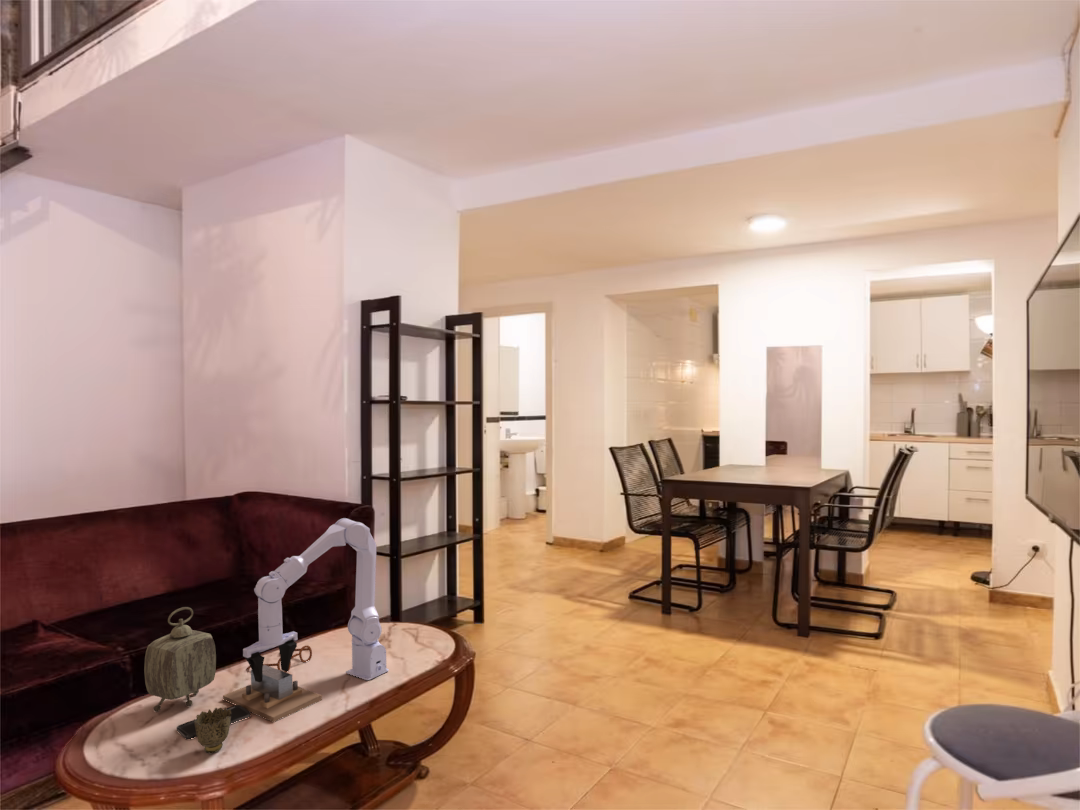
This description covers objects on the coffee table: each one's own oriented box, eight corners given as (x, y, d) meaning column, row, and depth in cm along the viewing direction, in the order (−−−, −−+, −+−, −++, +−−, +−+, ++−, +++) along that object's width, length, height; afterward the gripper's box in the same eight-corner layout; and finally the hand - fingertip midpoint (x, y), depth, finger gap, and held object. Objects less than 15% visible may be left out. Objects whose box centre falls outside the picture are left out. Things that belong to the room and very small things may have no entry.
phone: (174, 726, 158) (238, 704, 169) (175, 731, 158) (238, 708, 169) (187, 737, 153) (252, 713, 164) (187, 742, 153) (252, 718, 164)
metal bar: (292, 694, 171) (292, 674, 171) (278, 700, 168) (278, 680, 168) (265, 683, 178) (264, 664, 178) (251, 688, 175) (250, 670, 175)
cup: (203, 742, 152) (202, 707, 152) (236, 740, 153) (236, 706, 153) (189, 760, 145) (188, 723, 144) (224, 758, 145) (223, 721, 145)
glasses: (279, 677, 188) (279, 659, 188) (246, 670, 193) (245, 653, 193) (313, 660, 200) (312, 643, 200) (280, 653, 205) (280, 637, 205)
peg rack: (321, 699, 173) (321, 683, 172) (273, 722, 161) (273, 705, 161) (271, 680, 185) (270, 665, 185) (223, 700, 173) (222, 684, 173)
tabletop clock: (197, 690, 179) (195, 598, 179) (220, 696, 176) (218, 602, 175) (145, 713, 166) (142, 614, 166) (168, 721, 163) (166, 619, 162)
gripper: (285, 613, 181) (287, 662, 181) (235, 629, 169) (237, 682, 169) (301, 617, 177) (303, 668, 177) (251, 634, 165) (253, 688, 165)
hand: (271, 675), depth 173 cm, fingers open, 7 cm apart
